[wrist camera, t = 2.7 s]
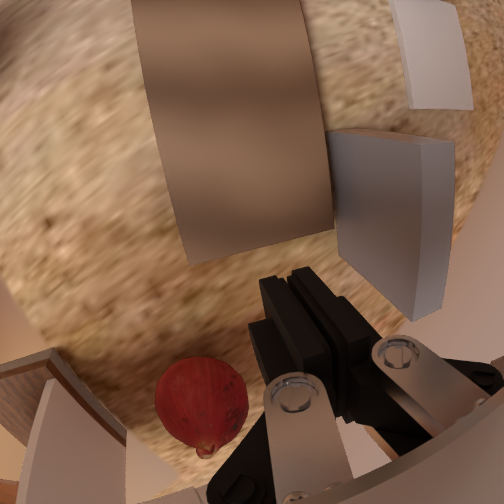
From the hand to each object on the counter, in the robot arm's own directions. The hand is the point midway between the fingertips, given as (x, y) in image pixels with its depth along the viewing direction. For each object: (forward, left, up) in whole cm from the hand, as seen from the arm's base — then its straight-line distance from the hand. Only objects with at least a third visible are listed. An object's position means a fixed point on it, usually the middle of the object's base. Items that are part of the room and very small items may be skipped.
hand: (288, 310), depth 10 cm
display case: (+11, -20, -9) cm, 24 cm away
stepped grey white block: (-15, +16, -8) cm, 23 cm away
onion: (+9, -5, -9) cm, 13 cm away
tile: (-1, +7, -9) cm, 11 cm away
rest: (-8, +1, -8) cm, 12 cm away
